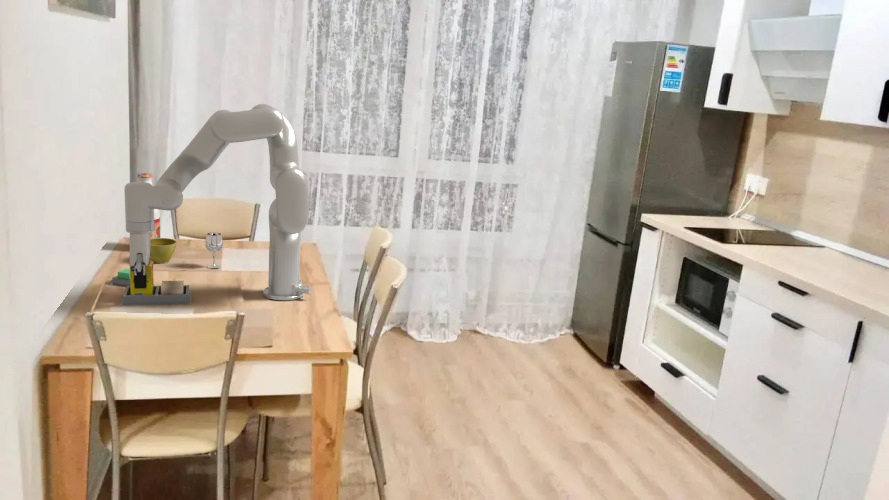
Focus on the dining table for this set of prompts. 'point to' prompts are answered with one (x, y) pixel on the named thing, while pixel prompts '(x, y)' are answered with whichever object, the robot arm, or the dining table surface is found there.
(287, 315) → the dining table surface
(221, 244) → the wineglass
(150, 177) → the fruit juice
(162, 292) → the block
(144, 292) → the supplement box
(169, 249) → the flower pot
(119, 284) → the button housing
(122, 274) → the button
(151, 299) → the divided grey tray
